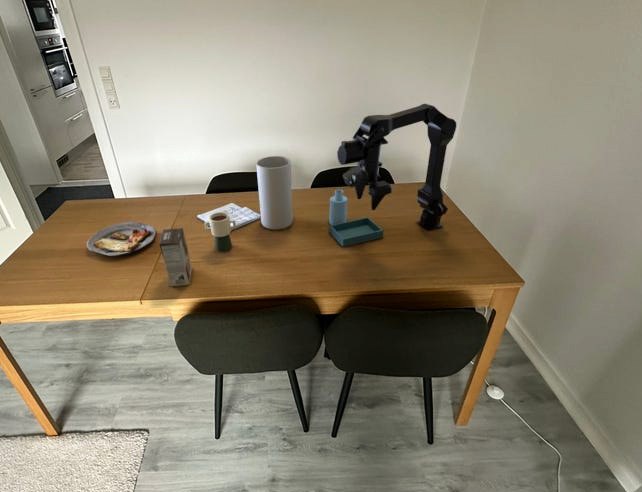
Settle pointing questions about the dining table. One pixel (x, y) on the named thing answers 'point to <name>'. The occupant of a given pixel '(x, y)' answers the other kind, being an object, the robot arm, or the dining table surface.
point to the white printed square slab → (234, 214)
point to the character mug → (221, 230)
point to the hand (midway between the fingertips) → (366, 204)
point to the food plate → (121, 238)
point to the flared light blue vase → (338, 208)
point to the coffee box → (176, 256)
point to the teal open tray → (355, 231)
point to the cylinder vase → (275, 192)
